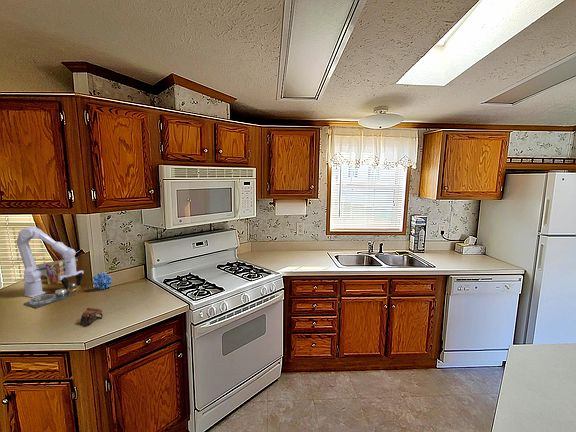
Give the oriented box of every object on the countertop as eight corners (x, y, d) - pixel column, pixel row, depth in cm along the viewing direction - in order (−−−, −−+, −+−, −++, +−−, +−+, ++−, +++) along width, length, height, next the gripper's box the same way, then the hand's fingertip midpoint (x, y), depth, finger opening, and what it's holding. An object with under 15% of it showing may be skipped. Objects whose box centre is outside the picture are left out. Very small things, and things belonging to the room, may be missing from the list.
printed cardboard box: (39, 281, 211) (37, 266, 210) (36, 279, 216) (34, 265, 215) (79, 272, 231) (77, 259, 230) (75, 270, 236) (74, 257, 235)
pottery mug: (77, 322, 151) (83, 306, 154) (97, 325, 156) (103, 309, 159) (80, 325, 142) (87, 308, 145) (101, 328, 148) (107, 311, 151)
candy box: (65, 281, 211) (62, 261, 209) (61, 283, 206) (59, 262, 204) (51, 282, 209) (49, 261, 207) (47, 284, 205) (45, 263, 203)
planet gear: (62, 291, 192) (61, 284, 191) (75, 287, 200) (75, 280, 199) (70, 293, 189) (69, 286, 188) (83, 288, 196) (83, 282, 196)
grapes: (95, 293, 187) (93, 276, 186) (92, 291, 192) (90, 273, 190) (115, 288, 196) (113, 271, 195) (111, 286, 201) (109, 269, 199)
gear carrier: (24, 304, 172) (23, 298, 171) (61, 292, 190) (60, 286, 190) (36, 308, 167) (35, 301, 166) (73, 295, 185) (73, 289, 185)
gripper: (62, 271, 184) (64, 291, 186) (85, 265, 197) (87, 284, 199) (55, 270, 187) (57, 290, 188) (79, 263, 200) (81, 282, 202)
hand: (72, 286), depth 194 cm, fingers open, 7 cm apart
